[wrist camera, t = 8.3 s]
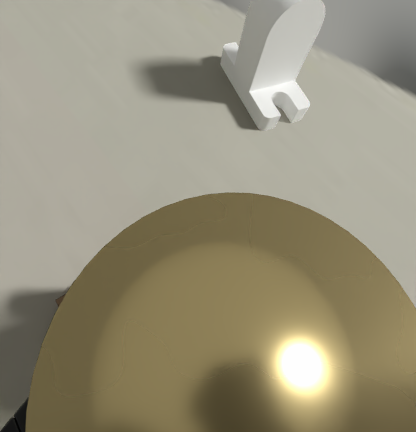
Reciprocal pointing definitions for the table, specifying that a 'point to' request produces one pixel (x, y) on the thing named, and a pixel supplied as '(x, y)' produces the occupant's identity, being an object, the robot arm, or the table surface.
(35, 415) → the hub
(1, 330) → the table surface
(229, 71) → the white phone stand
